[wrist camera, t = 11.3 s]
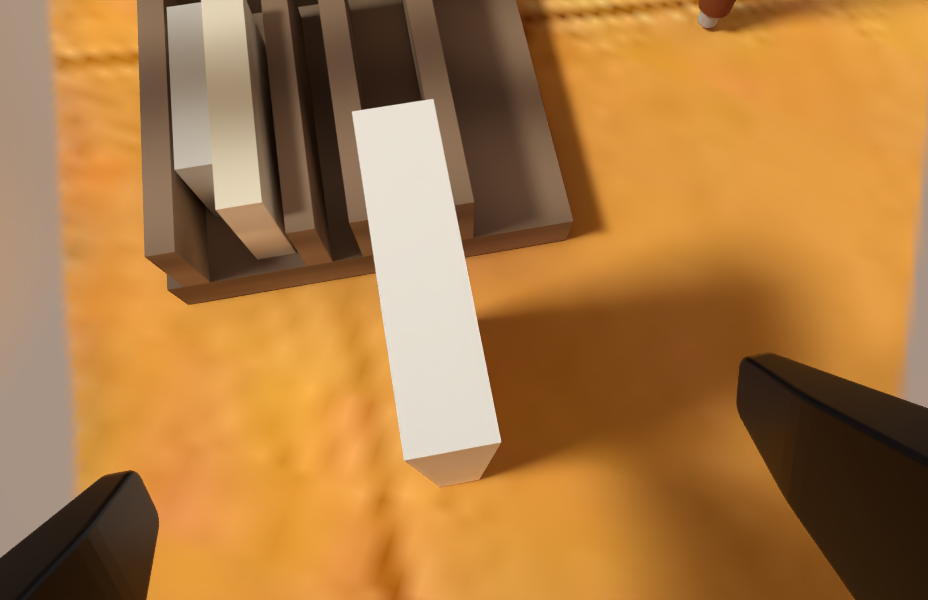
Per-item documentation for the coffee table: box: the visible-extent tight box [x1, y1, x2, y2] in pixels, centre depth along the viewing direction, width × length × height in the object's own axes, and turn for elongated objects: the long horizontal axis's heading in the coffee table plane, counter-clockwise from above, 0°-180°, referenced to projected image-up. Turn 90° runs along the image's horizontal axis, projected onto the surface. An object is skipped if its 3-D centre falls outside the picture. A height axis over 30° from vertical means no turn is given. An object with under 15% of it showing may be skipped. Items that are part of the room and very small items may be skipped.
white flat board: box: [352, 99, 501, 487], centre depth 14 cm, size 5×1×12 cm, turn 10°
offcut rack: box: [137, 0, 573, 305], centre depth 20 cm, size 11×13×6 cm
